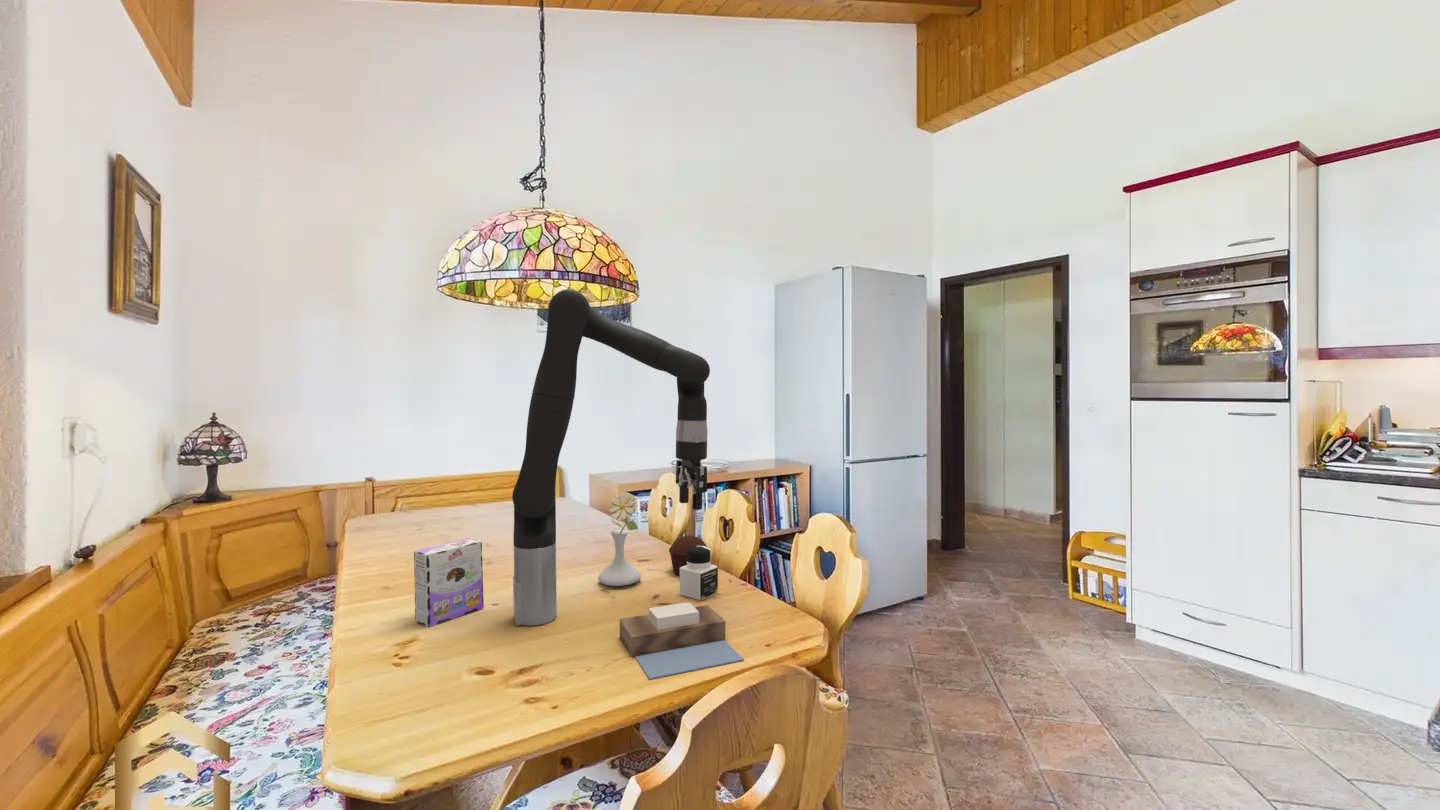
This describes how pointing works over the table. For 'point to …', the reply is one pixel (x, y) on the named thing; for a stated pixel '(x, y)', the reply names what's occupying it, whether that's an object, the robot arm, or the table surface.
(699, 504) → the robot arm
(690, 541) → the muffin
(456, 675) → the table surface
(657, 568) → the table surface
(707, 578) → the medicine bottle
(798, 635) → the table surface
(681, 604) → the white eraser
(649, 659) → the mat
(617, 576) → the flower in vase
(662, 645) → the wooden block
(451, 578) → the candy box
